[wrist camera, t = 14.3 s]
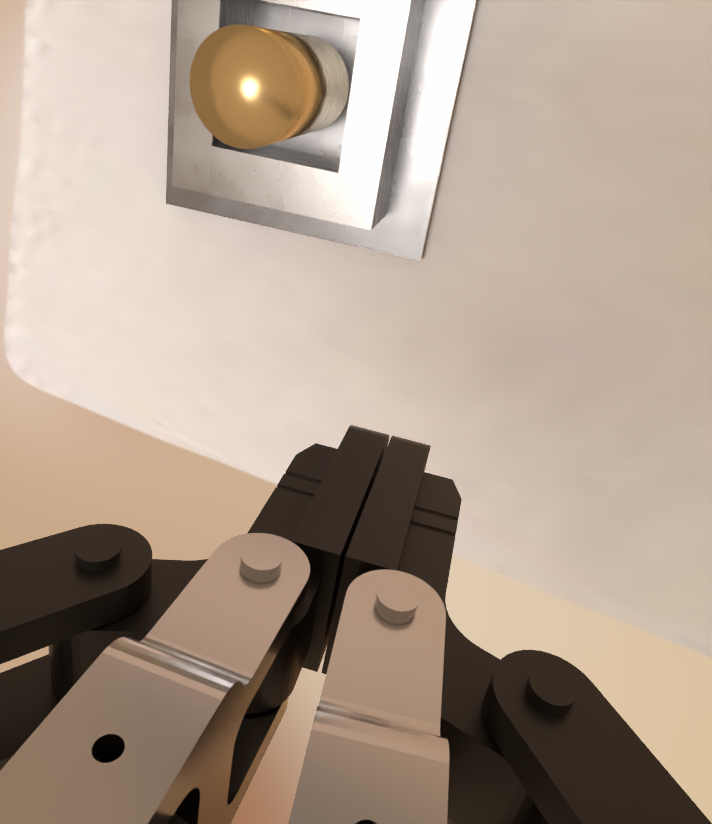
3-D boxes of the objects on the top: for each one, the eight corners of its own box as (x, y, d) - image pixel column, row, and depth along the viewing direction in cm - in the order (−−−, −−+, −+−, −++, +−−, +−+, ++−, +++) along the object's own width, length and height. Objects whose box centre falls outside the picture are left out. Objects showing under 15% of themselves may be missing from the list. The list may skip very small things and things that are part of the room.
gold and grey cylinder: (355, 43, 33) (302, 35, 25) (341, 139, 35) (289, 158, 27) (269, 28, 34) (191, 15, 26) (261, 123, 36) (187, 137, 28)
